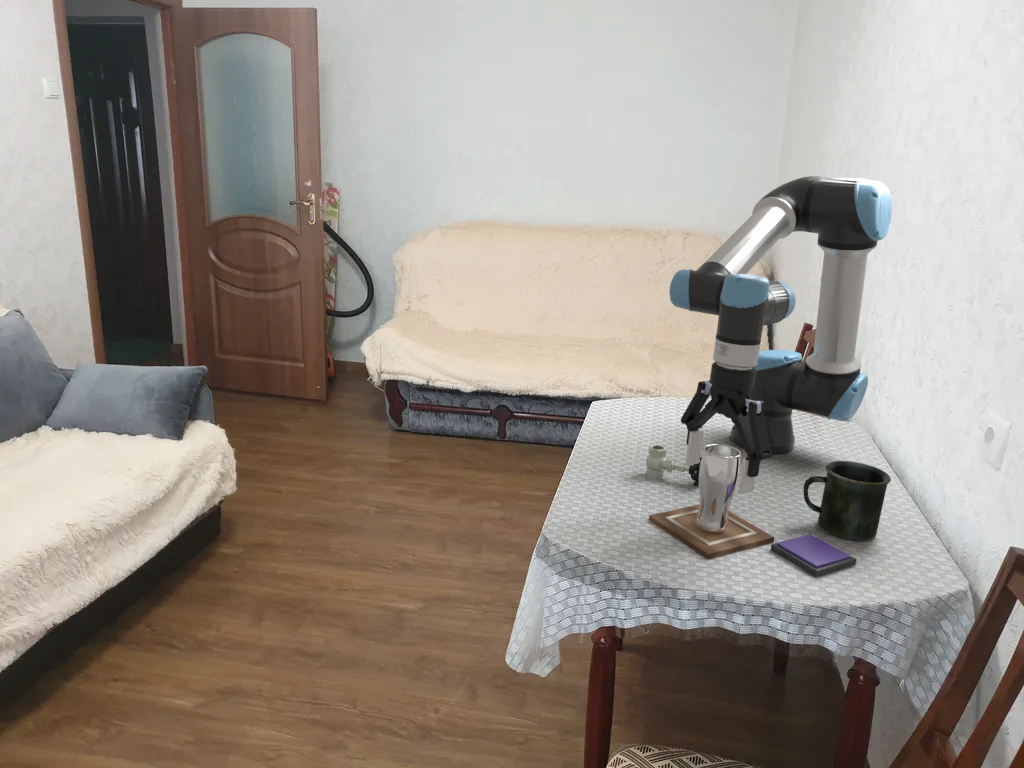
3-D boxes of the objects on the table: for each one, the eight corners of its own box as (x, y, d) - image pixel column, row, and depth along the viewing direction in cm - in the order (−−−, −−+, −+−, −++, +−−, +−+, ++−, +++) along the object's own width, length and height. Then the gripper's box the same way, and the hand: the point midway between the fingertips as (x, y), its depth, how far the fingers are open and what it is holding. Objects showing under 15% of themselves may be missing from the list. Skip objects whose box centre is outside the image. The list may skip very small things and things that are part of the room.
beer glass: (698, 534, 139) (709, 457, 135) (687, 517, 146) (697, 442, 142) (736, 535, 140) (748, 458, 136) (722, 517, 146) (734, 443, 142)
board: (711, 506, 154) (712, 500, 153) (773, 541, 140) (774, 536, 140) (648, 520, 146) (649, 514, 146) (707, 559, 133) (708, 553, 132)
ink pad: (808, 539, 142) (810, 531, 142) (855, 565, 134) (857, 557, 133) (770, 550, 137) (771, 542, 137) (816, 577, 129) (817, 568, 129)
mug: (884, 547, 141) (898, 487, 137) (801, 535, 144) (812, 476, 140) (871, 522, 151) (883, 465, 148) (793, 511, 154) (803, 455, 150)
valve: (640, 478, 165) (696, 492, 160) (643, 450, 163) (700, 462, 158) (649, 468, 171) (703, 481, 166) (652, 440, 169) (707, 452, 164)
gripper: (670, 348, 143) (657, 455, 149) (774, 386, 122) (754, 508, 128) (701, 346, 146) (687, 450, 152) (806, 382, 126) (786, 501, 132)
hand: (717, 477), depth 140 cm, fingers open, 13 cm apart
